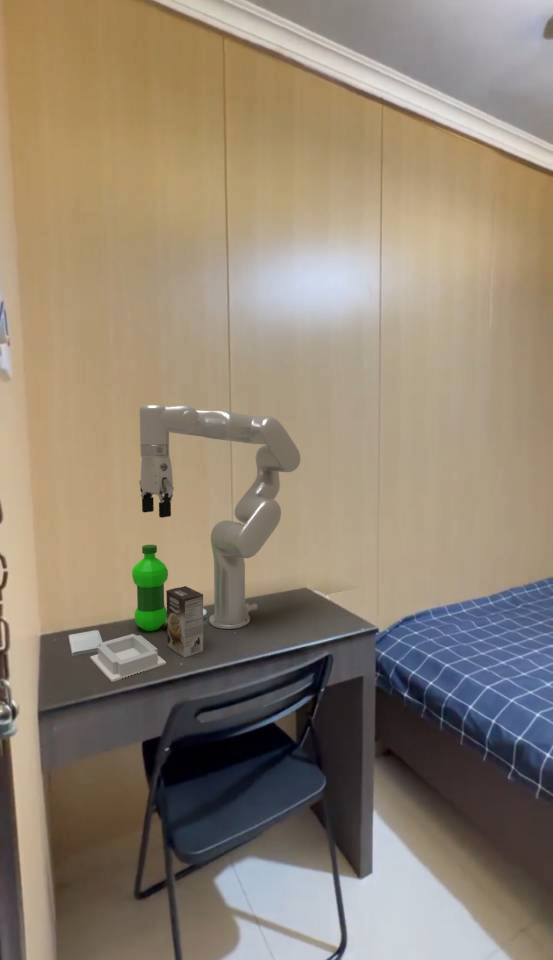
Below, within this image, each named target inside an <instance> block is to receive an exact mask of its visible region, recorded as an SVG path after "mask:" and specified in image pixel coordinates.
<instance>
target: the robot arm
mask: <svg viewBox="0 0 553 960" xmlns="http://www.w3.org/2000/svg"><path fill="white" fill-rule="evenodd" d="M170 433H171V434H181V435H188V436H196V437H202V438H207V439H212V440H219V441H229V442H237V443H245V444H251V445H262V446H260V447H259V448H258V449H257V451H256V454H255V464H256V478H255V480H254V481H253V483H252V484H251V486H249V488H248V490H246V492H245V493H244V495H243V496H241V498H240V499H239V501H238V502H237V503H236V506H235V507H234V517H235V518H236V519H237V521H238V522H237V521H233V520H221V521H219V522H218V523H216V524H215V525H214V526H213V528H212V530H211V533H210V543H211V544H210V545H211V550H212V555H213V581H214V582H213V588H214V590H213V593H214V596H213V597H214V598H213V599H214V600H213V603H214V606H213V607H214V608H213V609H214V612H213V613H212V614H211V615H210V616H209V621H208V622H209V624H210V625H211V626H212V627H214V628H218V629H224V630H234V629H240V628H242V627H245V626H247V625H248V624H250V621H251V616H250V615H249V613H250V612H252V611H257V610H258V609H259V607H258V604H257V603H252V604H250V603H246V564H245V559H250V558H252V557H254V556H255V555H256V554H257V553H259V551H260V550H261V548H263V546H264V545H265V544H266V542H267V541H268V539H269V538H270V536H271V535H272V534H273V533H274V531H275V529H277V526H278V525H279V524H280V521H281V516H282V509H281V506H280V504H279V503H278V501H276V500H275V499H276V497H277V496H278V494H279V491H280V488H281V481H280V473H292V472H294V471H296V470H297V469H298V468H299V466H300V463H301V454H300V451H299V448H298V447H297V445H296V443H295V442H294V441H293V439H292V438H291V436H290V435H289V433H288V431H287V430H286V428H285V427H284V426H283V425H282V423H281V422H280V421H279V420H278V419H277V418H276V417H273V416H254V415H249V414H242V413H236V412H231V411H227V410H197V409H196V408H194V407H192V406H191V405H187V404H177V405H176V404H175V405H164V404H163V405H162V404H144V405H142V406H141V407H140V408H139V439H140V440H139V443H140V446H139V447H140V448H139V449H140V458H141V464H140V467H141V468H140V480H139V482H138V484H139V487H140V491H139V492H140V493H141V494H140V498H141V512H142V513H143V514H145V513H151V512H154V509H155V508H154V496H153V495H157V496H158V499H159V501H160V502H158V516H159V518H163V519H164V518H167V517H168V518H169V517H171V516H172V505H171V504H172V499H173V492H174V490H175V489H174V488H175V487H174V482H173V481H174V480H173V469H172V462H171V457H170Z"/></svg>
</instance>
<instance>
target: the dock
mask: <svg viewBox="0 0 553 960" xmlns="http://www.w3.org/2000/svg"><path fill="white" fill-rule="evenodd" d="M158 650H159V649H158V648H157V647H156V646H154V645H153V644H152V643H151V642H150V641H148V640H147V639H146V638H144V637H143V636H142V635H141V634H139V635H137V634H135V633H131V634H128V635H124V636H121V637H120V636H119V637H118V638H113V639H110V640H109V639H108V640H106V641H102V643H99V647H98V652H97V654H94V655H91V656H89V657H90V660H91V661H92V662H93V664H95V666H97V668H98V669H99V670H100V671H101V672H102V673H103V675H105V676H106V678H108V679H109V681H111V683H114V682H117V681H120V680H123V679H126V678H129V677H131V675H132V676H134V674H135V675H138V674H140V672H141V673H143V671H144V672H147V671H150V670H152V669H155V668H158V667H161V666H164V665H167V661H165V660H164V659H163V658H162V657H161V656H160V655H158V653H159V651H158ZM137 673H138V674H137ZM128 676H129V677H128ZM125 677H126V678H125ZM122 678H123V679H122Z"/></svg>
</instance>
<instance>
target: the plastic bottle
mask: <svg viewBox="0 0 553 960" xmlns="http://www.w3.org/2000/svg"><path fill="white" fill-rule="evenodd" d="M157 547H158V546H157V545H156V544H145V545H142V546H141V549H142V550H141V553H142V554H143V555H144V556H143V558H142V559H141V560H139V561H138V562H137V563H136V564H135V565H134V567H133V568H132V571H131V575H132V580H133V584H134V585H135V586H136V594H137V595H136V596H137V599H136V600H137V601H136V602H137V603H136V605H137V608H136V609H135V611H134V622H135V623H136V625H137V626H138V627H139V628H140V629H142V630H143V631H146V632H153V631H157V630H159V629H160V628H161V627H162V626H163V625H164V624H165V623H167V607H166V605H165V585H164V584H165V583H166V582H167V581H168V578H169V570H168V569H167V568H168V567H167V565H166V564H165V563H164V562H163V561H162V560H160V559H159V558H157V557H156V553H157V552H158V548H157Z"/></svg>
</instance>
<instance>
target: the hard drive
mask: <svg viewBox="0 0 553 960" xmlns="http://www.w3.org/2000/svg"><path fill="white" fill-rule="evenodd" d="M67 637H68V643H69V648H70V653H71V657H77V656H82V655H83V656H84V655H86V654H92V653H96V652H97V653H98V647H99V643H102V642H103V638H102V636H101V633H100V630H98V629H94V630H88V631H85V632H78V633H73V634H69V635H68V636H67Z"/></svg>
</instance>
